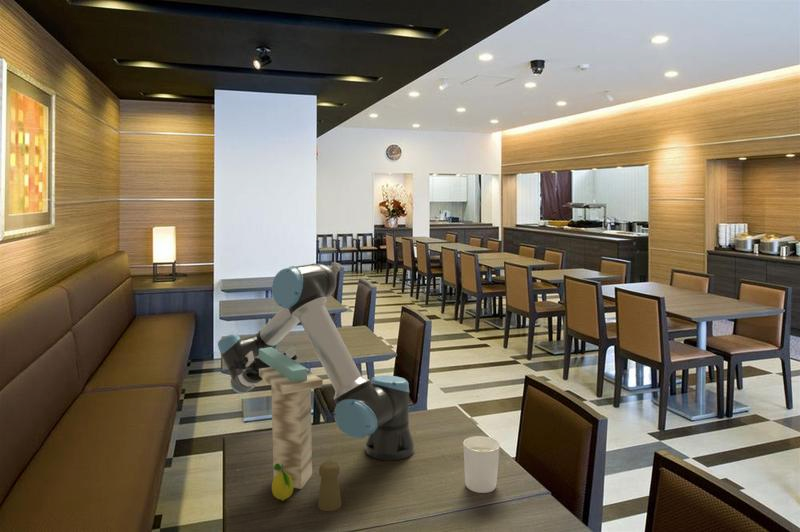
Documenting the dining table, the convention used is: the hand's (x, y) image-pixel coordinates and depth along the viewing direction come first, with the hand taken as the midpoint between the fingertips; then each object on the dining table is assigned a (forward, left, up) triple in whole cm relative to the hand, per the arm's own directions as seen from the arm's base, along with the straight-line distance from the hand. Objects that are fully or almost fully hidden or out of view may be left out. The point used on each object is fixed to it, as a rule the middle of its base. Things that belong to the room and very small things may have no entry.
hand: (273, 352), depth 164 cm
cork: (-23, +19, -34) cm, 45 cm away
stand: (-8, +8, -33) cm, 35 cm away
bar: (-4, +4, -3) cm, 7 cm away
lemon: (-10, +20, -34) cm, 40 cm away
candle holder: (-60, +1, -34) cm, 69 cm away
